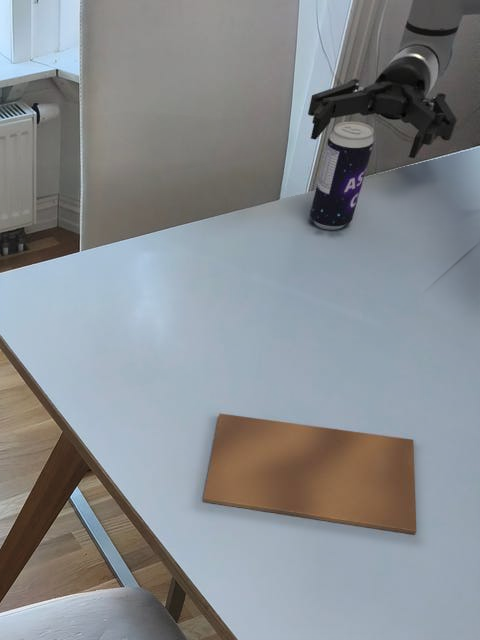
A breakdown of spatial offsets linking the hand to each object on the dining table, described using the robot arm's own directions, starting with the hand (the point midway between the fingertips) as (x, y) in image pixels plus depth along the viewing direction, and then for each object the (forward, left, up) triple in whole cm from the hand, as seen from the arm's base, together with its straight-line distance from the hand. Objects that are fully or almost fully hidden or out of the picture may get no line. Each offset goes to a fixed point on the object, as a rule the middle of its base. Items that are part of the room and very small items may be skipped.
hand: (364, 138), depth 121 cm
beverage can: (+2, +9, -8) cm, 12 cm away
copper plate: (+2, +63, -8) cm, 63 cm away
